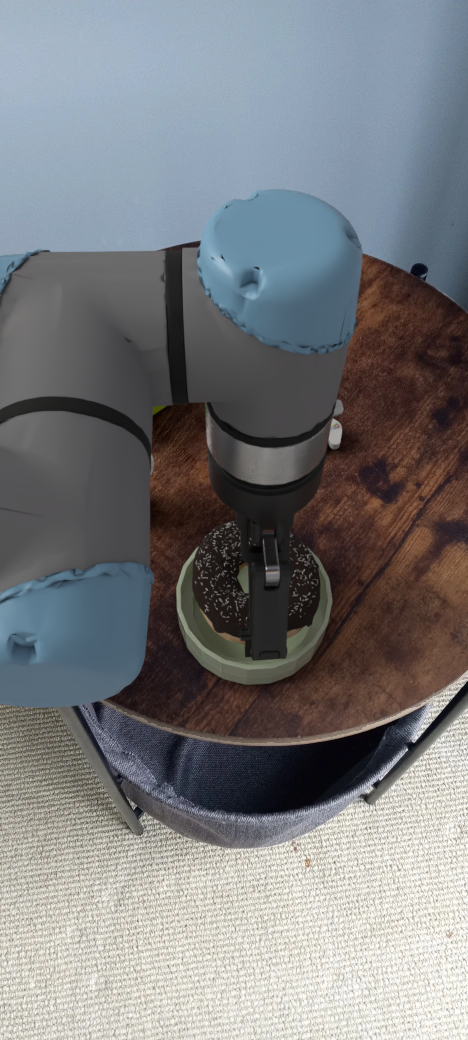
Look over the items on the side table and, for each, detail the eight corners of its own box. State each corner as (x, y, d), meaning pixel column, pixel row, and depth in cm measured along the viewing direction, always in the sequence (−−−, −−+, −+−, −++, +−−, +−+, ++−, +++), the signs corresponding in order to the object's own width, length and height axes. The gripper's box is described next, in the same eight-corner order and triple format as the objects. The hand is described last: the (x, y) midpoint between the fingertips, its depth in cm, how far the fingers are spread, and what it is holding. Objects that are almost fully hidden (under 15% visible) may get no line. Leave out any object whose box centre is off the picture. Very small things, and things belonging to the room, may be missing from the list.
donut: (229, 672, 60) (229, 656, 57) (169, 559, 65) (166, 538, 62) (341, 615, 63) (348, 597, 59) (275, 511, 68) (278, 488, 64)
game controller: (289, 457, 79) (291, 443, 76) (286, 377, 84) (288, 362, 82) (341, 458, 79) (344, 443, 76) (334, 378, 84) (337, 362, 82)
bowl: (181, 690, 66) (178, 673, 61) (177, 554, 73) (174, 530, 68) (333, 681, 66) (341, 664, 62) (315, 547, 73) (321, 522, 69)
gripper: (355, 614, 39) (313, 718, 58) (305, 301, 51) (284, 473, 70) (217, 621, 39) (220, 724, 58) (199, 305, 51) (206, 476, 69)
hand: (255, 586), depth 64 cm, fingers closed on donut, 11 cm apart
